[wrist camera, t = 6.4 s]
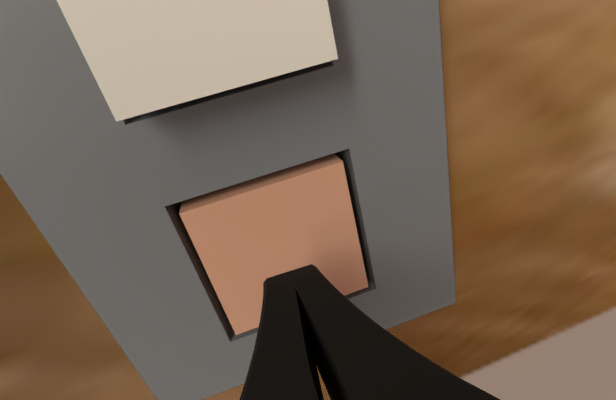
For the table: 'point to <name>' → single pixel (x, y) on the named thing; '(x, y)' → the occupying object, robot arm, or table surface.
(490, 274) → the table surface
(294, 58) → the off-white key
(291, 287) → the robot arm
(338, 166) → the terracotta key
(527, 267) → the table surface
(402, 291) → the key console
